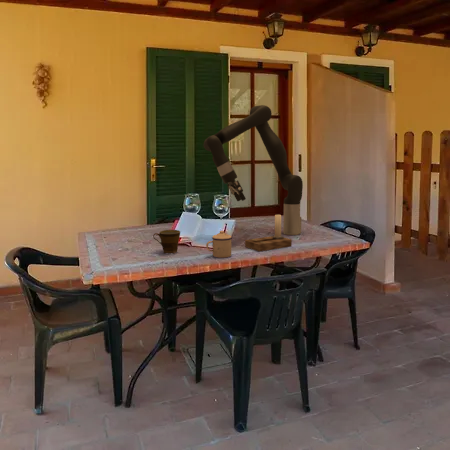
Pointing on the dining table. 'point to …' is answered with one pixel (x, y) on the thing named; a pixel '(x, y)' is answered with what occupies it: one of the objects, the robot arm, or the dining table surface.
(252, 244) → the wooden tray
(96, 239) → the dining table surface
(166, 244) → the ceramic cup
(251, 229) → the dining table surface
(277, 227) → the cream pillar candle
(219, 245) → the teacup with lid
